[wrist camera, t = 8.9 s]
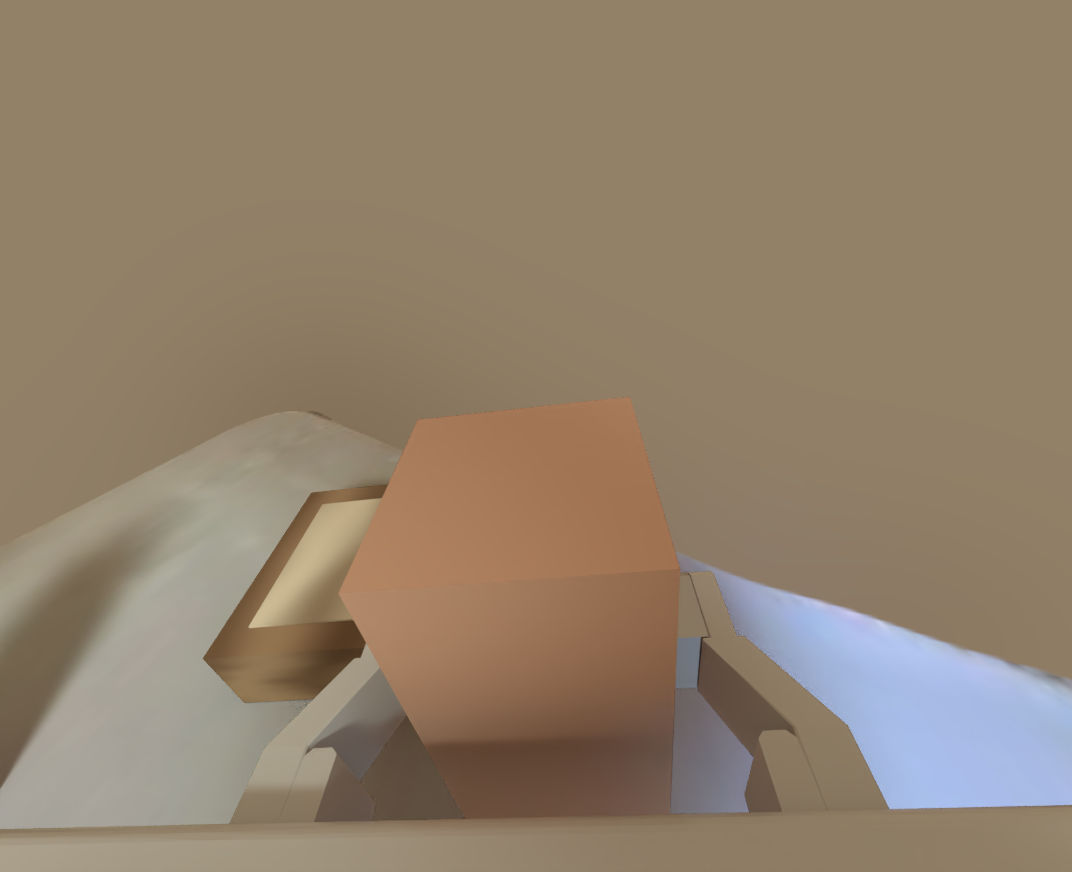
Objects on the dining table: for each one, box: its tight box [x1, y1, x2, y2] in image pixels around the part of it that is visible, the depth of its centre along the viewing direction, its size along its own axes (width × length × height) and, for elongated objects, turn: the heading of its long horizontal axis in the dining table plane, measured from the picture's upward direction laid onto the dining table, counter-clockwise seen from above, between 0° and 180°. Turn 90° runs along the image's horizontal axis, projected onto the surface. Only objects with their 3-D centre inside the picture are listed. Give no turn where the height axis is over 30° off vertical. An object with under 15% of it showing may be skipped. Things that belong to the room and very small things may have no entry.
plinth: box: [203, 485, 388, 703], centre depth 28 cm, size 12×12×4 cm
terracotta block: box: [338, 397, 680, 819], centre depth 11 cm, size 4×4×10 cm
